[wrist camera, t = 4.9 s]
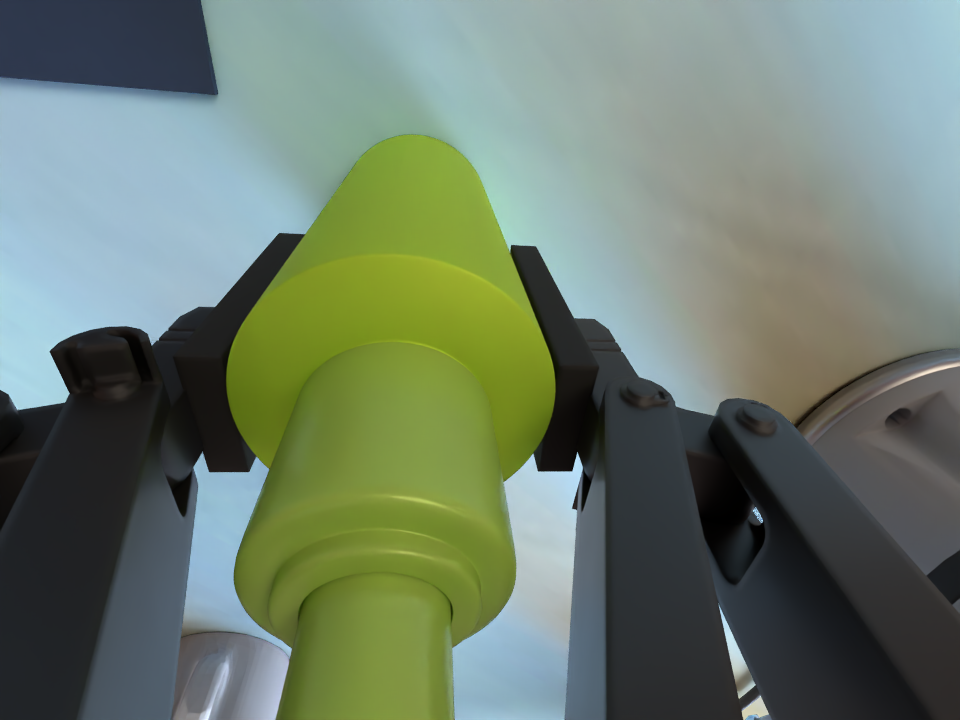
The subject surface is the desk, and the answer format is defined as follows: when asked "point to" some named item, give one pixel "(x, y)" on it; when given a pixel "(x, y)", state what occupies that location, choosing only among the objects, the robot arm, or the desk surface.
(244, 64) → the desk surface
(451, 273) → the soap dispenser
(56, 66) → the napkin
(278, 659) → the coffee mug
